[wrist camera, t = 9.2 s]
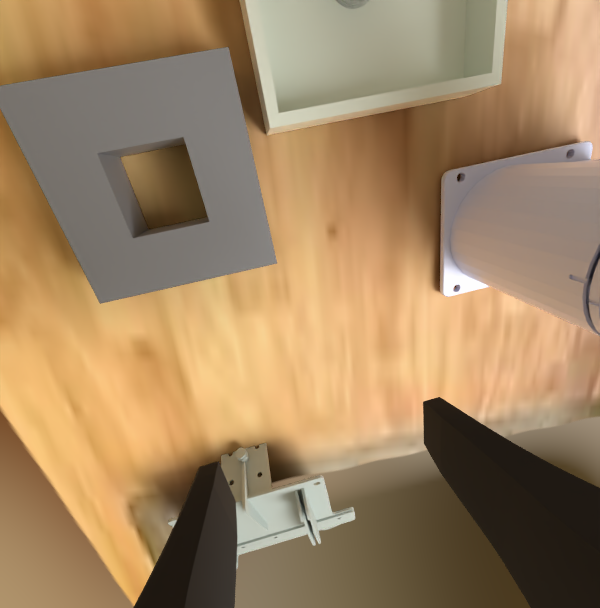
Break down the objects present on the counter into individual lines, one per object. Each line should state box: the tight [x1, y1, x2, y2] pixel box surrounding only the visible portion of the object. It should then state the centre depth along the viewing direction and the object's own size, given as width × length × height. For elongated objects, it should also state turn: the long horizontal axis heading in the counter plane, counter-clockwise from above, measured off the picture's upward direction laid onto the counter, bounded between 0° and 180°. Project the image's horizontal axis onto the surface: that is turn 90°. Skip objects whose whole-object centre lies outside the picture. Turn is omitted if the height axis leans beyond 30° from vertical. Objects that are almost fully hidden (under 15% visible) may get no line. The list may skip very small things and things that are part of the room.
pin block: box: [0, 47, 277, 304], centre depth 14 cm, size 9×9×2 cm
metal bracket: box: [168, 443, 355, 569], centre depth 26 cm, size 14×6×15 cm
